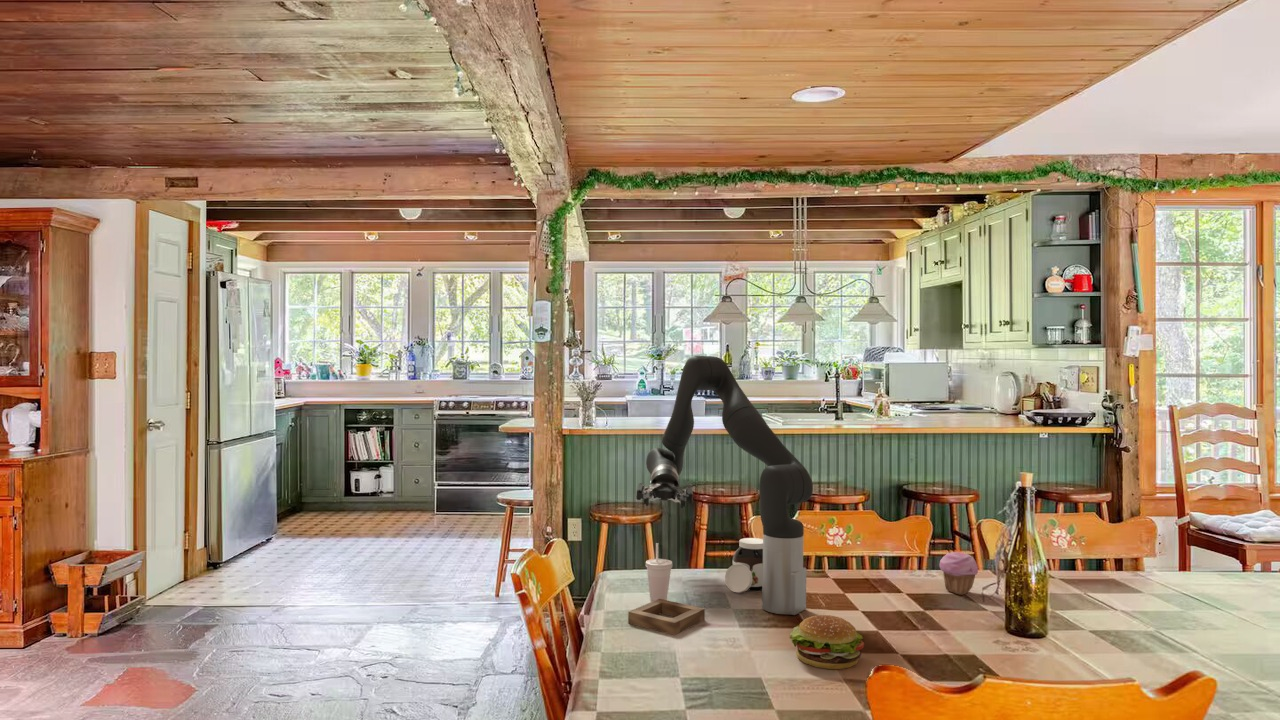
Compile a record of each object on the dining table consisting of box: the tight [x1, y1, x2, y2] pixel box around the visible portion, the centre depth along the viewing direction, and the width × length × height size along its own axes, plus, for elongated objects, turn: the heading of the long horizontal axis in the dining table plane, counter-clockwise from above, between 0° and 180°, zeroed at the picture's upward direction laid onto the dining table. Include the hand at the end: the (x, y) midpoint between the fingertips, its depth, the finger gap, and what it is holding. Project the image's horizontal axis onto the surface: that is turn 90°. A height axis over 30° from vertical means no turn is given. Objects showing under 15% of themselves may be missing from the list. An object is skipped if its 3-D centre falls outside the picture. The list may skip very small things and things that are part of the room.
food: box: [789, 614, 865, 670], centre depth 155 cm, size 14×14×8 cm
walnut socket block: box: [627, 599, 706, 636], centre depth 175 cm, size 12×12×2 cm
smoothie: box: [645, 542, 674, 602], centre depth 189 cm, size 6×6×14 cm
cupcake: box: [939, 551, 979, 596], centre depth 201 cm, size 9×9×10 cm
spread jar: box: [724, 537, 763, 594], centre depth 202 cm, size 12×11×12 cm
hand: (664, 503), depth 198 cm, fingers open, 8 cm apart
